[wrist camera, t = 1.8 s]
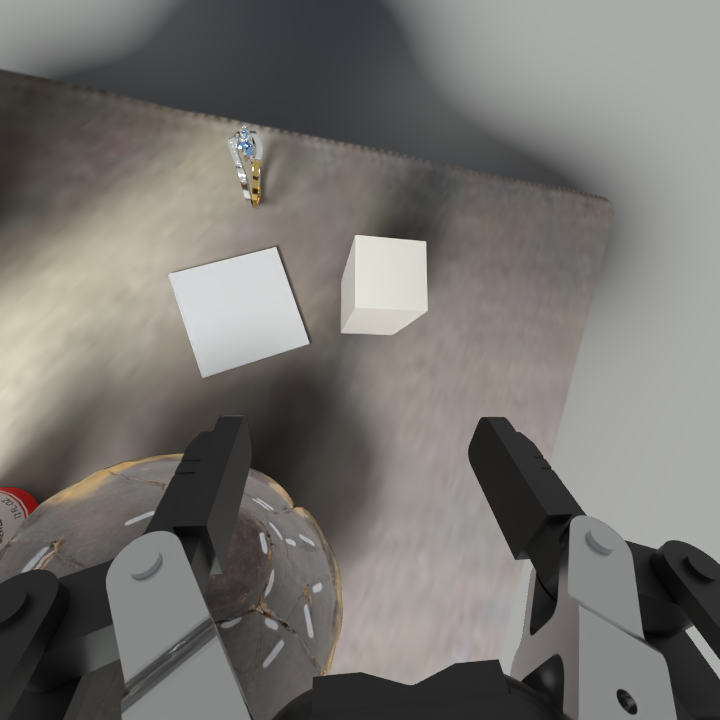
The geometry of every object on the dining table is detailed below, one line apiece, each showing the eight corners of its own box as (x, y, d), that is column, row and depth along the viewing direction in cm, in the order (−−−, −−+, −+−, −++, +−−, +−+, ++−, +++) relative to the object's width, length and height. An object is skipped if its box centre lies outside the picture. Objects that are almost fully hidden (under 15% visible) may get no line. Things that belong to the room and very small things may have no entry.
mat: (169, 275, 34) (168, 274, 33) (276, 248, 36) (275, 246, 36) (203, 378, 33) (202, 377, 33) (309, 343, 36) (309, 343, 35)
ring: (245, 165, 37) (229, 103, 29) (273, 169, 37) (264, 110, 29) (240, 220, 36) (222, 171, 28) (269, 223, 36) (258, 177, 29)
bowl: (9, 642, 28) (-149, 775, 18) (155, 397, 32) (90, 398, 23) (263, 730, 31) (243, 887, 21) (367, 492, 35) (390, 530, 25)
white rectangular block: (392, 334, 38) (427, 311, 27) (340, 333, 36) (355, 307, 26) (392, 284, 38) (426, 241, 27) (341, 281, 37) (355, 234, 26)
